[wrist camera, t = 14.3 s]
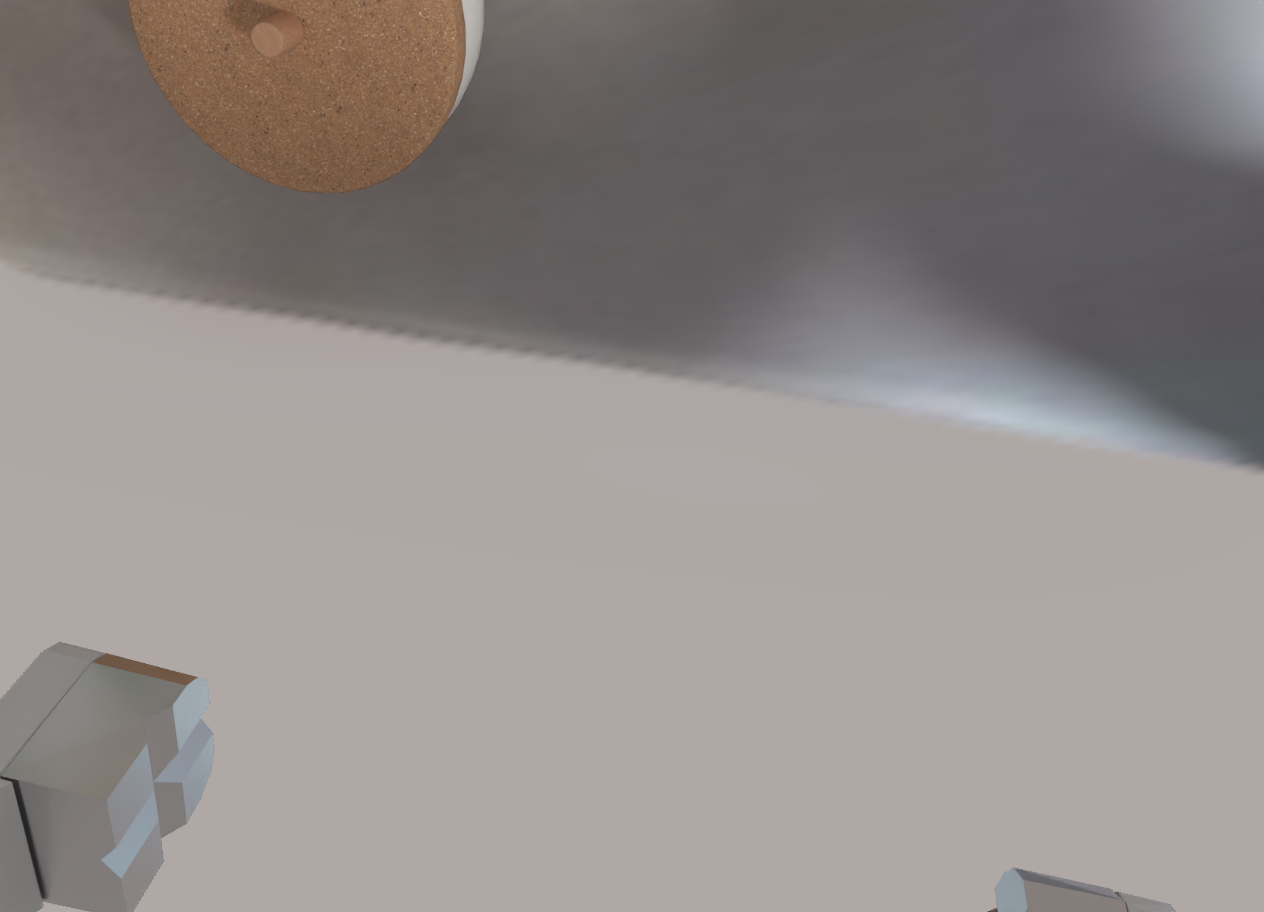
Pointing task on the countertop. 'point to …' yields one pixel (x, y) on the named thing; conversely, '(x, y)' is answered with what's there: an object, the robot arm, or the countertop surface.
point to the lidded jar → (313, 80)
